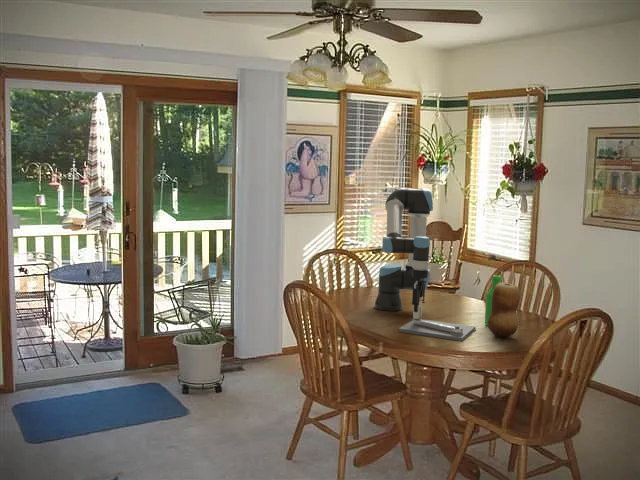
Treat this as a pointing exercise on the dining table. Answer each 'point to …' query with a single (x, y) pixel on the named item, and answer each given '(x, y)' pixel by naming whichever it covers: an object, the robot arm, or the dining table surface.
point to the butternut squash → (504, 310)
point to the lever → (435, 325)
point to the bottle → (489, 297)
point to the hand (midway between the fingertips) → (417, 317)
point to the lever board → (437, 330)
